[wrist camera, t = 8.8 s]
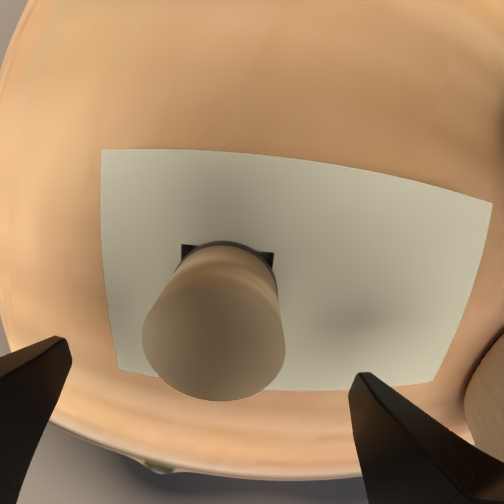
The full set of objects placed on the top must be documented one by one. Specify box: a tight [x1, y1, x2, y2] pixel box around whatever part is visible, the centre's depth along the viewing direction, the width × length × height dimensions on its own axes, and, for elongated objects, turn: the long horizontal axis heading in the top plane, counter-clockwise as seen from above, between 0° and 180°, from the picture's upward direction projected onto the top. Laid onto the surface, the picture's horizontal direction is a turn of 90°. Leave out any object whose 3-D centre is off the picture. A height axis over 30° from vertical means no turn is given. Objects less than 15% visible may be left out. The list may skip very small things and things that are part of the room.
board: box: [100, 149, 493, 391], centre depth 15 cm, size 20×12×4 cm, turn 85°
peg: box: [141, 241, 286, 401], centre depth 12 cm, size 5×5×7 cm
